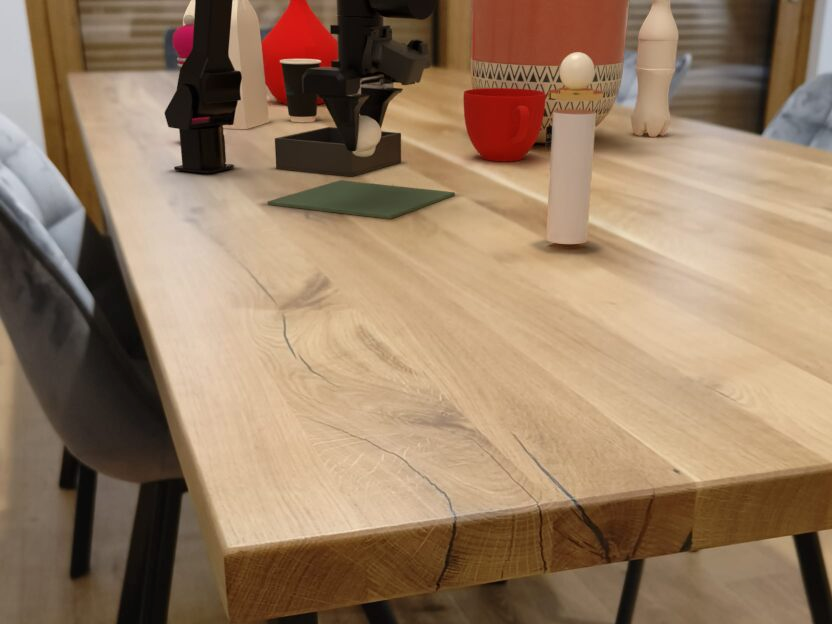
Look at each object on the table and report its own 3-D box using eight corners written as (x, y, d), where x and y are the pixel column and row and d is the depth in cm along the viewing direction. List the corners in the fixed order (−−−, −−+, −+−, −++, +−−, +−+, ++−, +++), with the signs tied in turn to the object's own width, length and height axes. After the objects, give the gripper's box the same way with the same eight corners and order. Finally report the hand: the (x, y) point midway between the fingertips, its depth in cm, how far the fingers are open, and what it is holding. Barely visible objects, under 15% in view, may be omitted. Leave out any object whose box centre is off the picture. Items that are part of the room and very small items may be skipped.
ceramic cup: (483, 170, 168) (485, 100, 164) (452, 153, 183) (453, 88, 178) (563, 167, 171) (567, 98, 167) (526, 151, 186) (529, 87, 181)
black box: (351, 176, 162) (350, 145, 160) (276, 168, 167) (274, 138, 165) (401, 162, 174) (401, 132, 172) (329, 155, 179) (328, 126, 177)
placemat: (390, 219, 135) (390, 215, 135) (267, 204, 142) (267, 201, 142) (454, 195, 150) (455, 192, 150) (340, 183, 157) (340, 180, 157)
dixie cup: (330, 119, 220) (328, 59, 215) (310, 124, 213) (308, 62, 208) (295, 117, 222) (292, 58, 218) (274, 121, 216) (271, 60, 211)
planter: (510, 127, 213) (516, -30, 201) (641, 138, 201) (655, -27, 189) (439, 143, 192) (441, -30, 181) (580, 157, 180) (592, -27, 168)
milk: (186, 126, 208) (173, -28, 196) (211, 119, 218) (201, -28, 206) (246, 129, 205) (236, -27, 194) (269, 122, 215) (261, -27, 204)
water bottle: (624, 135, 204) (636, -15, 193) (636, 131, 210) (649, -15, 199) (661, 138, 201) (676, -14, 190) (673, 134, 207) (688, -14, 196)
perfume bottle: (602, 246, 124) (616, 52, 115) (573, 254, 120) (586, 55, 111) (559, 238, 127) (570, 49, 118) (530, 246, 123) (539, 51, 114)
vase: (246, 105, 240) (237, -50, 227) (281, 96, 256) (274, -49, 242) (325, 109, 235) (320, -49, 222) (356, 100, 251) (353, -48, 238)
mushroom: (388, 158, 143) (388, 117, 141) (354, 160, 141) (353, 119, 138) (370, 152, 147) (370, 112, 144) (337, 154, 145) (336, 114, 142)
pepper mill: (210, 146, 186) (201, 16, 177) (170, 144, 187) (158, 14, 179) (226, 140, 193) (218, 14, 184) (187, 138, 194) (177, 13, 185)
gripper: (379, 21, 126) (380, 164, 133) (452, 16, 141) (449, 144, 148) (297, 18, 130) (302, 156, 137) (376, 13, 145) (377, 137, 152)
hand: (362, 148), depth 143 cm, fingers closed on mushroom, 5 cm apart
